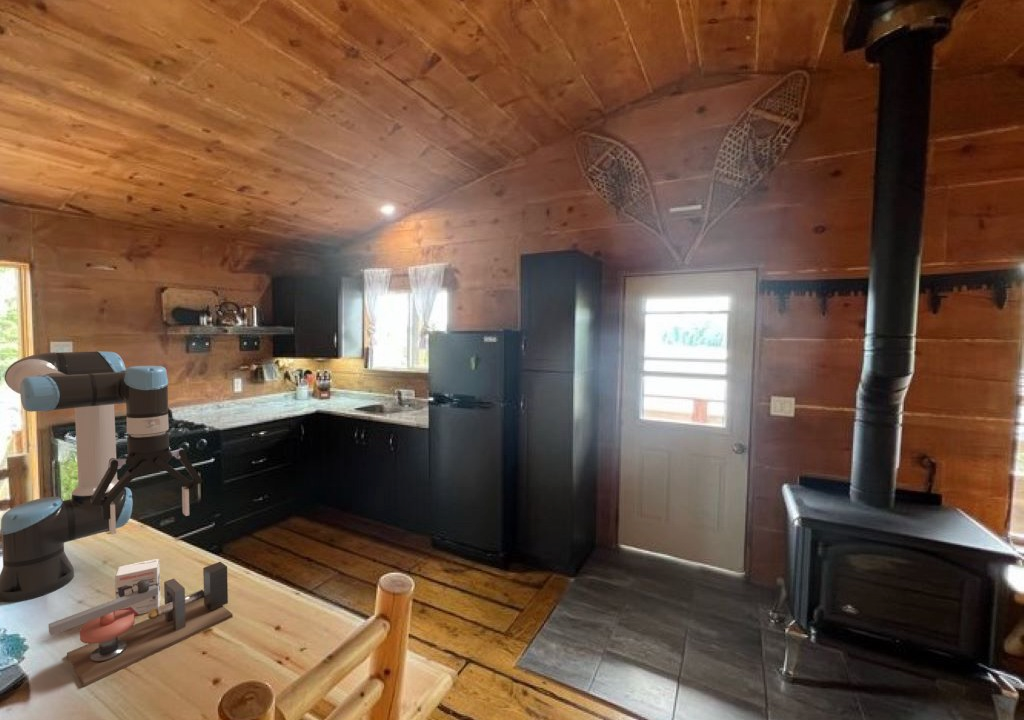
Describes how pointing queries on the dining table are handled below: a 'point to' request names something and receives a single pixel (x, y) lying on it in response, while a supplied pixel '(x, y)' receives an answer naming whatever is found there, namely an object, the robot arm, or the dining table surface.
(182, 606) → the eye
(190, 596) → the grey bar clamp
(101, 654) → the axle post
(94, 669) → the board
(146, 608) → the ink box
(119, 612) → the handwheel
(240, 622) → the dining table surface
